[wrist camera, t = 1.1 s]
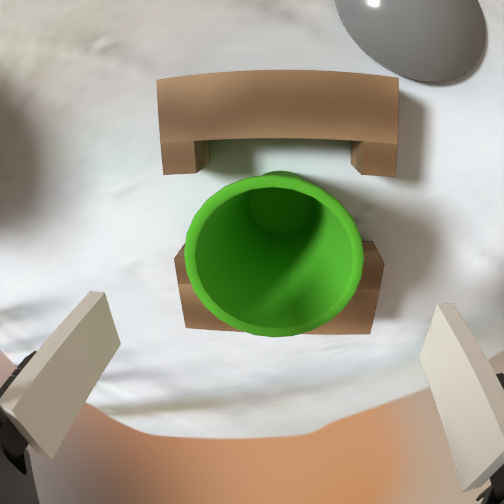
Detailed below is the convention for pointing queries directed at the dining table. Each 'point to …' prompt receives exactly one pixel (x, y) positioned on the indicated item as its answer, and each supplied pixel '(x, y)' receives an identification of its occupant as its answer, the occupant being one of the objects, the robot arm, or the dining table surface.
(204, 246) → the cup
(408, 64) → the coaster
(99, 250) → the dining table surface
